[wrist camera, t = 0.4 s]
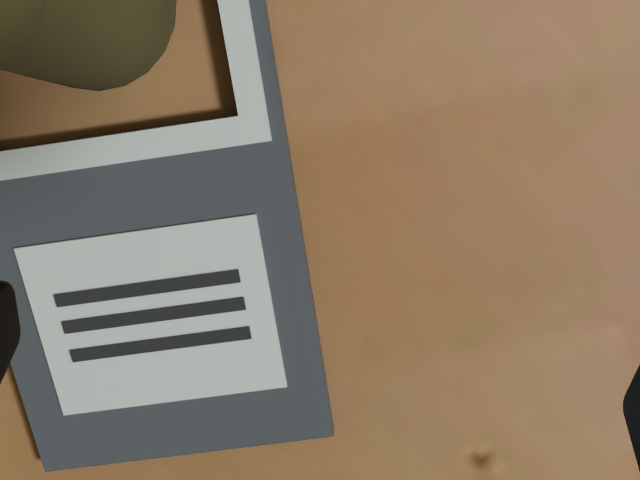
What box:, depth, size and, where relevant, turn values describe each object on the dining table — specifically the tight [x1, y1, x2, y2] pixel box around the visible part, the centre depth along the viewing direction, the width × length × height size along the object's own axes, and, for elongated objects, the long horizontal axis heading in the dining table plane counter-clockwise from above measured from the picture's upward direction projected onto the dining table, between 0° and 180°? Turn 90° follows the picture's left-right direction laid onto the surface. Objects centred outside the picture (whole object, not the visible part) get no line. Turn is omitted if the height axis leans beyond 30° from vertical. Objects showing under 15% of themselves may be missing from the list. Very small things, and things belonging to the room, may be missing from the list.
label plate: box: [0, 0, 334, 472], centre depth 22 cm, size 23×12×1 cm, turn 8°
